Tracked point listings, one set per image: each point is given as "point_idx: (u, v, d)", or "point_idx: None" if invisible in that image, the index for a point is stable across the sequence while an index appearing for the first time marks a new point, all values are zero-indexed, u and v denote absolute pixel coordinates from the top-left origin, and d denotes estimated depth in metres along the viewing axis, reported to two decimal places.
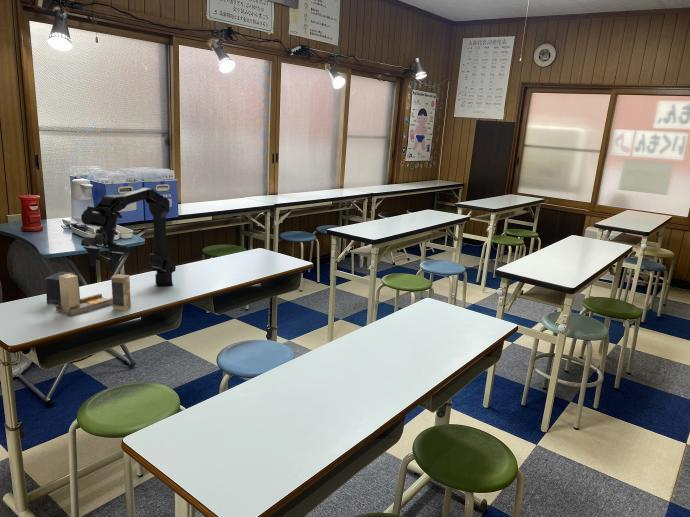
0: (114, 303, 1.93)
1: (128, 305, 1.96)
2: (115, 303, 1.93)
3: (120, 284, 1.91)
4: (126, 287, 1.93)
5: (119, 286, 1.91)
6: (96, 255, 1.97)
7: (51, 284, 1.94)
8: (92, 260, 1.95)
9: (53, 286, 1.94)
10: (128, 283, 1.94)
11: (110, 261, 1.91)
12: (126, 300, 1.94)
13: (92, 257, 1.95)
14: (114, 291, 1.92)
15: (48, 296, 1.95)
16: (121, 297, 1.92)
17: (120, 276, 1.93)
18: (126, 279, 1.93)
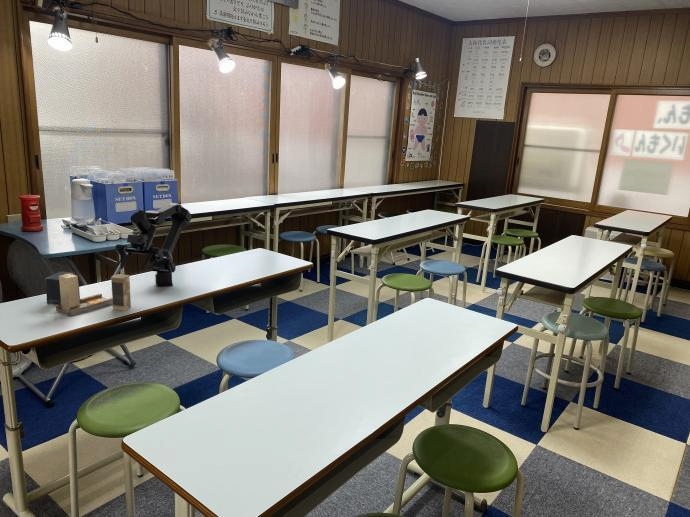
0: (114, 303, 1.93)
1: (128, 305, 1.96)
2: (115, 303, 1.93)
3: (120, 284, 1.91)
4: (126, 287, 1.93)
5: (119, 286, 1.91)
6: (126, 261, 2.05)
7: (51, 284, 1.94)
8: (123, 263, 2.02)
9: (53, 286, 1.94)
10: (128, 283, 1.94)
11: (145, 262, 2.00)
12: (126, 300, 1.94)
13: (123, 261, 2.03)
14: (114, 291, 1.92)
15: (48, 296, 1.95)
16: (121, 297, 1.92)
17: (120, 276, 1.93)
18: (126, 279, 1.93)
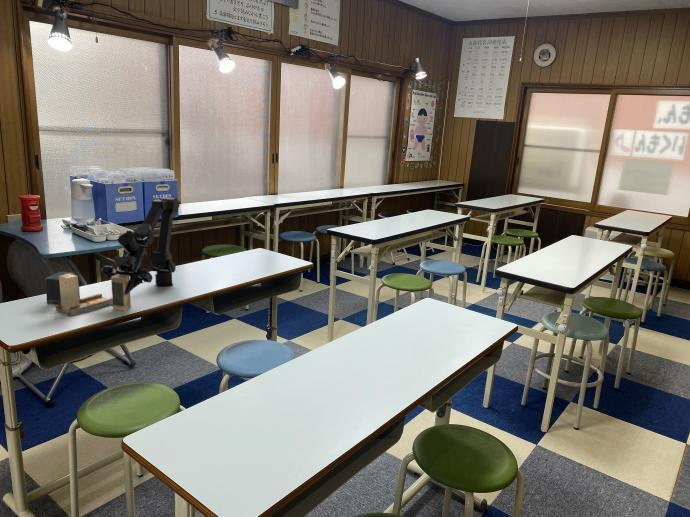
0: (114, 303, 1.93)
1: (128, 305, 1.96)
2: (115, 303, 1.93)
3: (120, 284, 1.91)
4: (126, 287, 1.93)
5: (119, 286, 1.91)
6: None
7: (51, 284, 1.94)
8: None
9: (53, 286, 1.94)
10: None
11: (129, 285, 1.93)
12: (126, 300, 1.94)
13: None
14: (114, 291, 1.92)
15: (48, 296, 1.95)
16: (121, 297, 1.92)
17: (120, 276, 1.92)
18: (126, 279, 1.93)
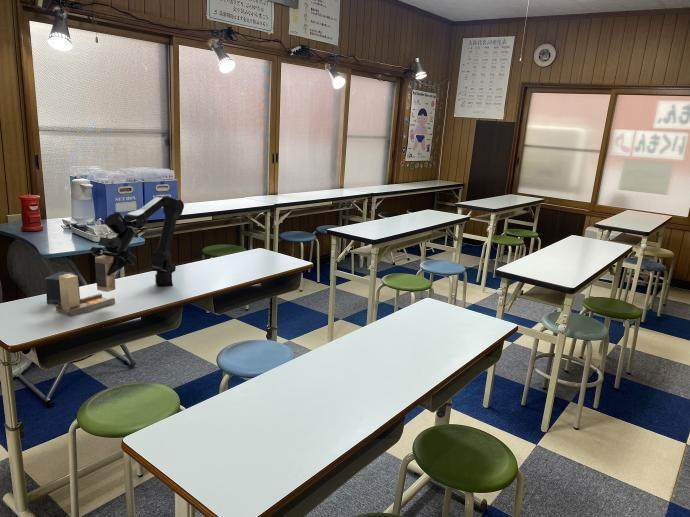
0: (97, 284, 1.93)
1: (112, 286, 1.95)
2: (98, 284, 1.93)
3: (102, 265, 1.90)
4: (109, 268, 1.92)
5: (101, 267, 1.90)
6: None
7: (51, 284, 1.94)
8: None
9: (53, 286, 1.94)
10: None
11: (112, 266, 1.92)
12: (109, 282, 1.93)
13: None
14: (98, 272, 1.91)
15: (48, 296, 1.95)
16: (103, 278, 1.91)
17: (104, 257, 1.92)
18: (109, 260, 1.91)
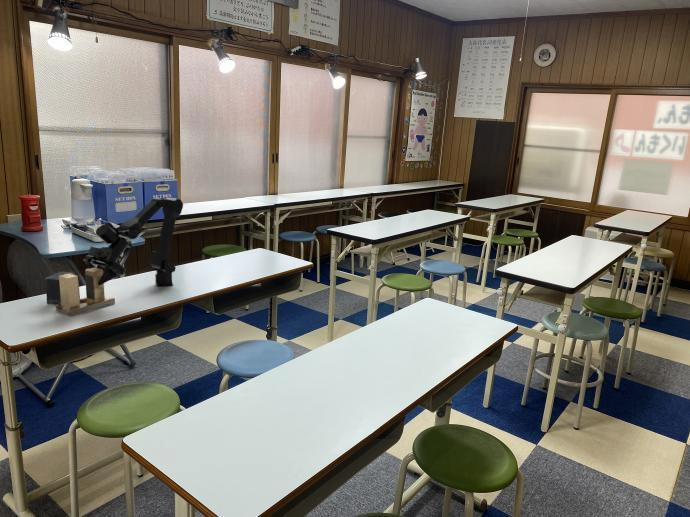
0: (87, 296, 1.96)
1: (101, 299, 1.97)
2: (88, 296, 1.96)
3: (91, 277, 1.93)
4: (98, 281, 1.95)
5: (90, 279, 1.93)
6: None
7: (51, 284, 1.94)
8: None
9: (53, 286, 1.94)
10: None
11: (102, 276, 1.94)
12: (98, 294, 1.96)
13: None
14: (87, 284, 1.95)
15: (48, 296, 1.95)
16: (92, 290, 1.94)
17: (93, 270, 1.95)
18: (98, 273, 1.94)
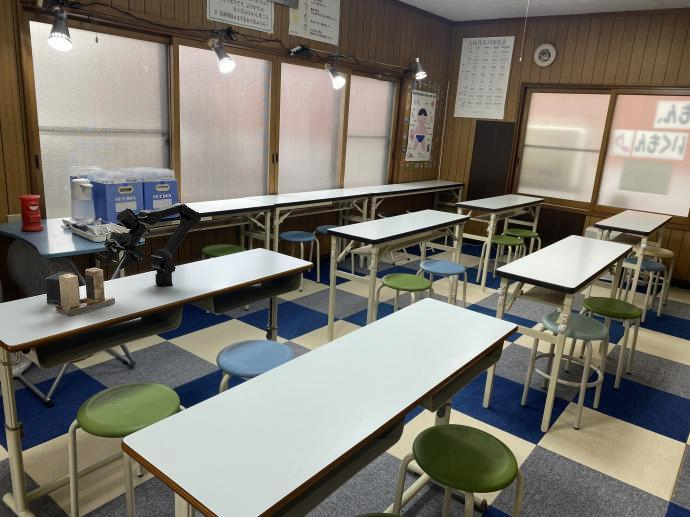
0: (87, 296, 1.96)
1: (101, 299, 1.97)
2: (88, 296, 1.96)
3: (91, 277, 1.93)
4: (98, 281, 1.95)
5: (90, 279, 1.93)
6: (112, 258, 2.07)
7: (51, 284, 1.94)
8: (107, 259, 2.05)
9: (53, 286, 1.94)
10: (101, 277, 1.96)
11: (124, 260, 2.00)
12: (98, 294, 1.96)
13: (109, 257, 2.06)
14: (87, 284, 1.95)
15: (48, 296, 1.95)
16: (92, 290, 1.94)
17: (93, 270, 1.95)
18: (98, 273, 1.94)
